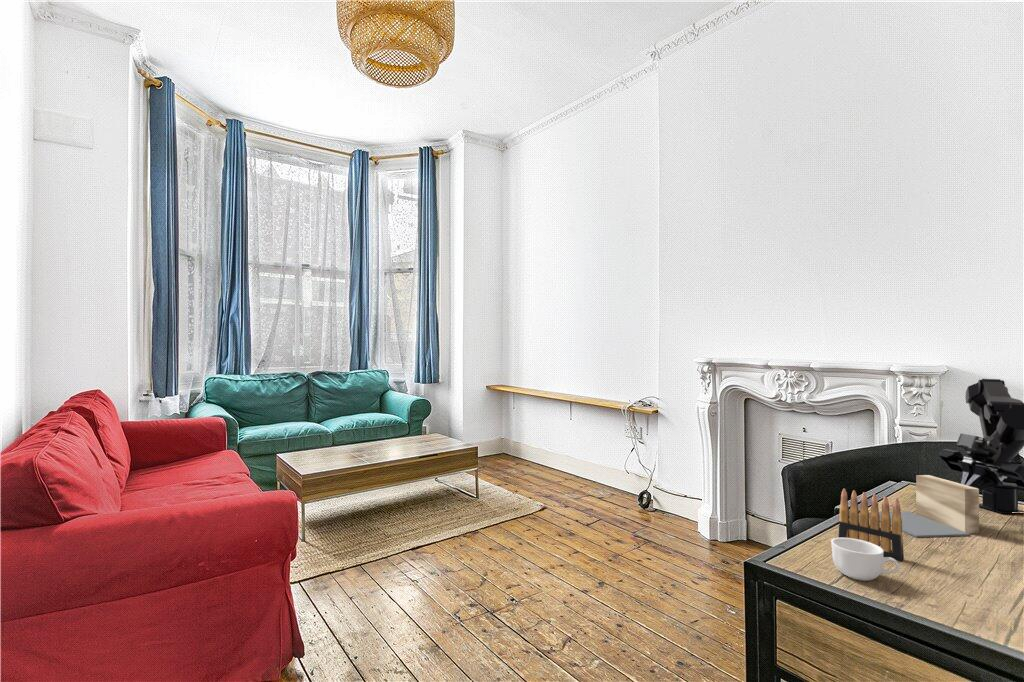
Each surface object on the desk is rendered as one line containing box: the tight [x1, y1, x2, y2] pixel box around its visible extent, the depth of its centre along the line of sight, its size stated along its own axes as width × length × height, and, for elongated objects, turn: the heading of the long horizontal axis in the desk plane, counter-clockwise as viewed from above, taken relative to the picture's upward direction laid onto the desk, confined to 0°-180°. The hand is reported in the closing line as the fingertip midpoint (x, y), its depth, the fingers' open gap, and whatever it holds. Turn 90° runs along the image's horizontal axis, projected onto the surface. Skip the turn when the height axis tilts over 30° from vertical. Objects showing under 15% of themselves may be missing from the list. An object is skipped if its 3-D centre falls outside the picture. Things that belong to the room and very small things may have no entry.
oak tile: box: [915, 474, 980, 534], centre depth 117 cm, size 4×12×10 cm, turn 5°
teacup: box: [830, 537, 900, 582], centre depth 89 cm, size 10×8×5 cm
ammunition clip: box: [837, 488, 905, 563], centre depth 100 cm, size 11×2×12 cm, turn 43°
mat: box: [869, 511, 971, 538], centre depth 116 cm, size 13×15×1 cm
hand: (961, 493), depth 117 cm, fingers closed
